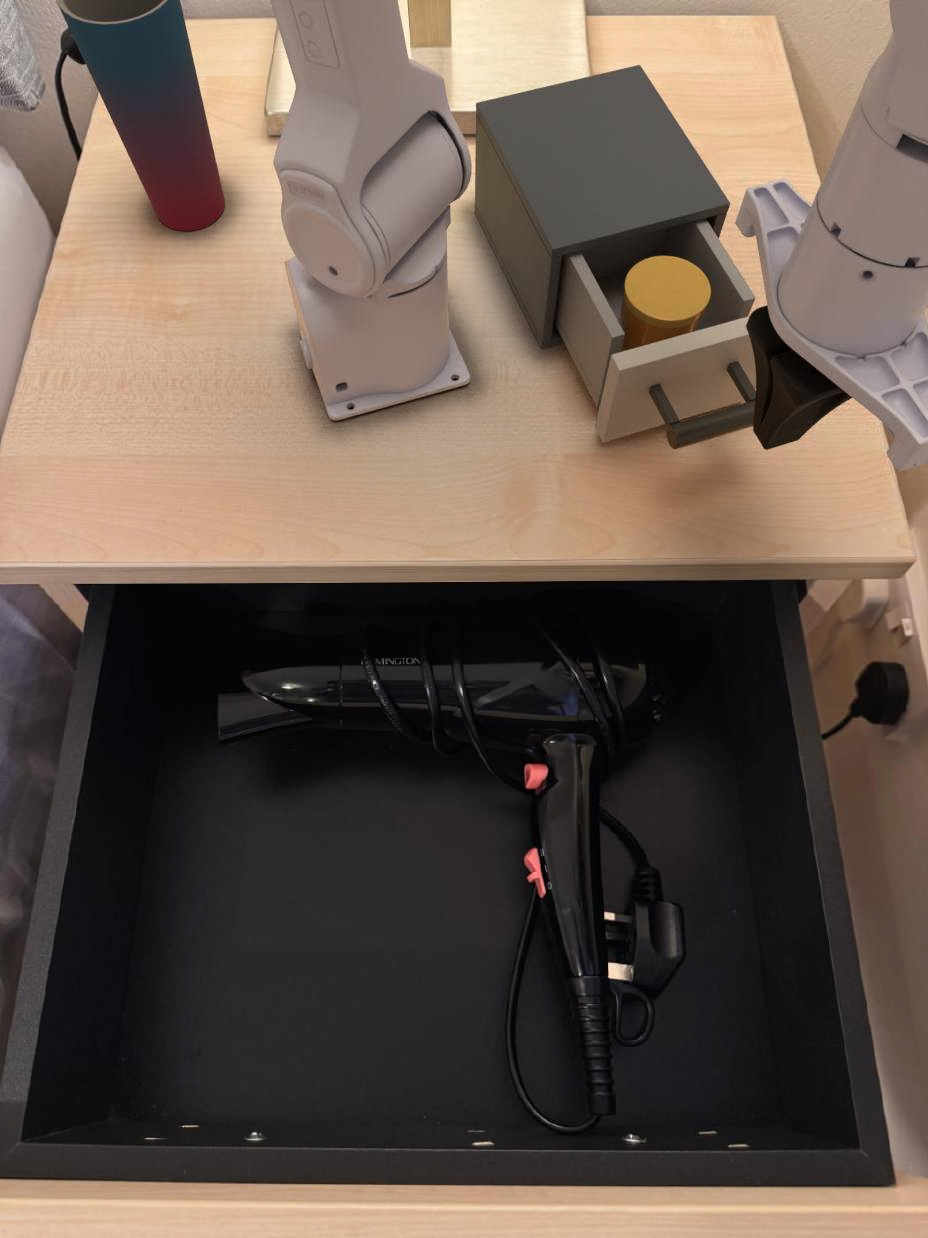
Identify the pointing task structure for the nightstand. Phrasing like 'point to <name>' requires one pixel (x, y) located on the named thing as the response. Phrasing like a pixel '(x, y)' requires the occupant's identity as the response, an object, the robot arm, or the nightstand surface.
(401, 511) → the nightstand surface
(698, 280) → the jar
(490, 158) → the cabinet
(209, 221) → the cup
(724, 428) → the drawer
